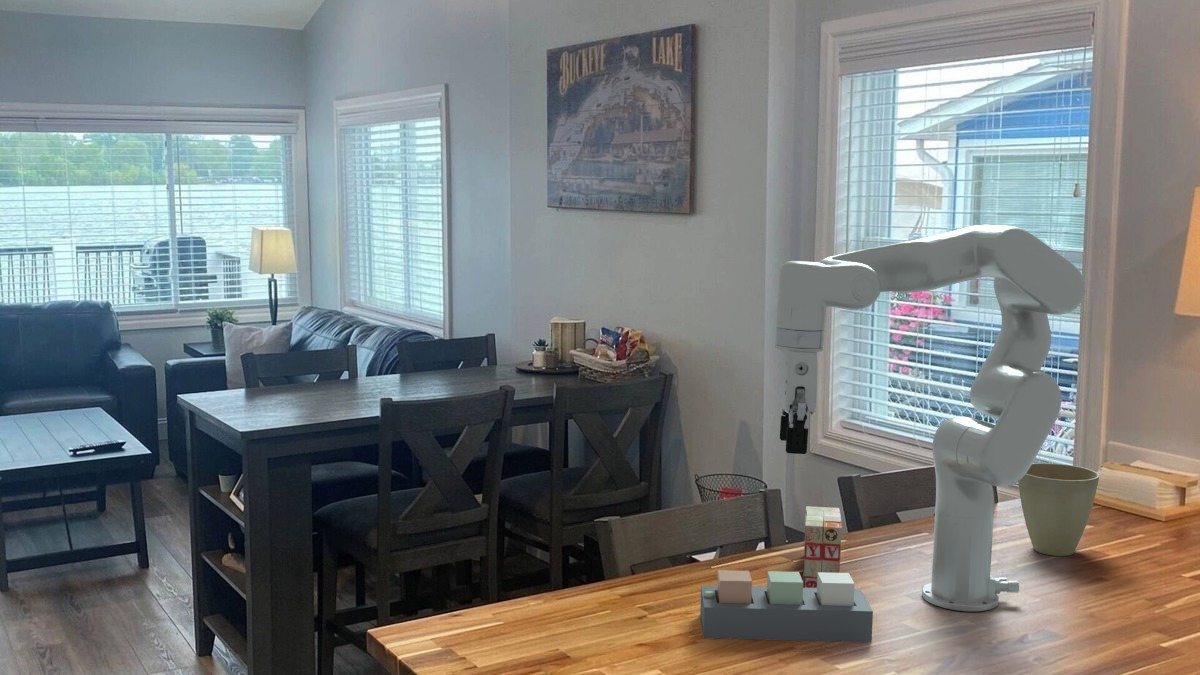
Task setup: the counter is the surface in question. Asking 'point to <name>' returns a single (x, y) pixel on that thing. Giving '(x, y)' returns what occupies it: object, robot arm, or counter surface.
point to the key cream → (835, 589)
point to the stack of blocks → (821, 543)
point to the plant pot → (1057, 505)
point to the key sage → (784, 588)
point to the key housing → (785, 618)
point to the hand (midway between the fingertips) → (792, 446)
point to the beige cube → (734, 587)
